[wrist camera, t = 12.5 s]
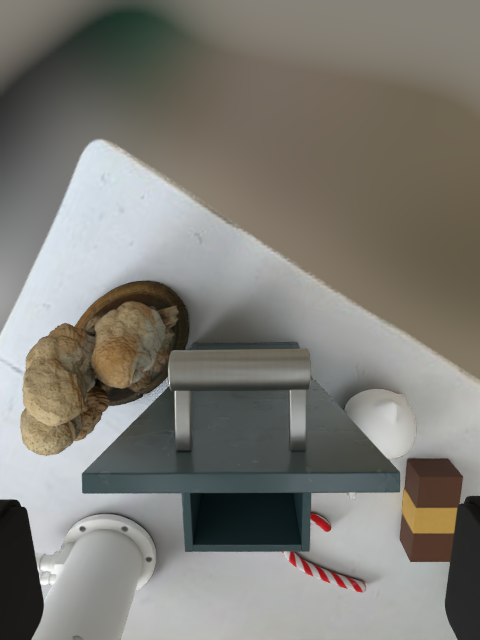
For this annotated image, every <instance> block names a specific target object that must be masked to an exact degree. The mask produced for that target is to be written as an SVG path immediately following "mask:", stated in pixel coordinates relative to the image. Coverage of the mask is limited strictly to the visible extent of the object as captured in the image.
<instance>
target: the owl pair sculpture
mask: <svg viewBox="0 0 480 640" xmlns="http://www.w3.org/2000/svg"><path fill="white" fill-rule="evenodd" d="M188 333H189V323H188V313H187V310H186V307H185V305H184V303H183V301H182V300H181V299H180V297H178V296H177V294H176V293H175V292H174V291H173V290H171V289H170V288H168V287H167V286H165V285H163V284H160V283H159V282H158V283H157V282H152V281H136V282H131V283H128V284H125V285H121V286H119V287H117V288H115V289H113V290H111V291H110V292H108V293H107V294H105V295H104V296H102V297H101V298H99V299H98V300H97V301H96V302H94V303H93V304H92V305H91V306H90V307H89V308H88V309H87V311H86V312H85V313H84V314H83V316H82V317H81V318H80V320H79V321H78V322H77V324H76V325H75V327H73V326H72V325H70V324H67V323H64V324H61V325H60V326H57V328H55V330H53V331H51V332H50V334H49V335H48V336H46V337H43V338H41V339H40V340H39V341H38V343H37V344H36V345H35V346H34V347H33V348H32V349H31V350H30V352H29V353H28V355H27V357H26V371H25V373H24V385H23V390H22V391H23V397H24V398H23V403H24V406H25V408H26V409H25V410H24V411H23V412H22V414H21V421H20V425H21V426H20V428H21V433H22V440H23V443H24V444H25V446H26V447H27V448H28V449H29V450H31V451H33V452H35V453H36V454H39V455H44V456H48V455H52V454H59V453H60V452H61V451H63V450H65V448H67V447H68V446H70V445H71V444H72V443H73V441H79V440H81V439H84V438H85V437H86V435H87V434H89V433H91V432H92V431H93V430H94V427H95V425H96V424H97V423H98V422H99V421H100V420H101V415H102V412H104V411H105V410H106V409H107V408H108V406H114V405H121V404H126V403H129V402H132V401H135V400H137V399H139V398H141V397H143V394H146V393H150V392H151V391H152V390H154V389H155V388H156V387H157V386H159V385H160V384H161V383H162V382H163V381H164V380H165V379H166V378H167V377H168V362H169V356H170V353H171V352H172V351H173V350H184V349H185V346H186V343H187V338H188ZM138 394H140V395H138Z"/></svg>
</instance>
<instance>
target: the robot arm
mask: <svg viewBox="0 0 480 640" xmlns="http://www.w3.org/2000/svg"><path fill="white" fill-rule="evenodd" d="M155 564H156V549H155V545H154V543H153V541H152V539H151V537H150V536H149V534H148V533H147V532H146V531H145V530H144V529H143V528H142V527H141V526H140V525H138V524H137V523H135V522H134V521H132V520H130V519H127V518H125V517H122V516H118V515H113V514H97V515H93V516H89V517H86V518H84V519H82V520H80V521H78V522H77V523H76V524H74V525H73V526H72V527H71V529H70V530H69V531H68V533H67V534H66V536H65V538H64V540H63V542H62V545H61V550H60V551H56V552H55V553H54V554H53V555H46V554H35V551H34V546H33V540H32V535H31V529H30V524H29V519H28V513H27V510H26V508H25V507H21V505H20V503H19V502H18V500H0V640H121V636H122V633H123V630H124V626H125V623H126V620H127V617H128V613H129V610H130V607H131V603H132V600H133V597H134V594H135V591H137V590H139V589H140V588H142V587H143V586H144V585H145V584H146V583H147V582H148V581H149V579H150V578H151V576H152V574H153V571H154V568H155ZM43 570H50V572H42V574H41V575H40V578H39V573H38V571H43ZM51 584H53V585H52V587H51V589H50V591H49V593H48V595H47V596H46V598H45V600H44V601H43V595H42V590H41V585H51ZM445 609H446V614H447V618H448V621H449V623H450V625H451V627H452V629H453V631H454V633H455V635H456V637H457V639H458V640H480V496H469V497H467V498H466V499H465V502H464V504H459V506H458V508H457V514H456V522H455V530H454V537H453V545H452V553H451V560H450V568H449V575H448V583H447V591H446V598H445Z"/></svg>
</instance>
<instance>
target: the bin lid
mask: <svg viewBox="0 0 480 640" xmlns="http://www.w3.org/2000/svg"><path fill="white" fill-rule="evenodd" d="M168 382H169V387H168V388H167V389H166V390H165V391H164V392H163V393H162V394H161V395H160V396H159V397H158V398H157V399H156V400H155V401H154V402H153V403H152V404H151V405H150V406H149V407H148V408H147V409H146V410H145V411H144V412H143V413H142V414H141V415H140V416H139V417H138V418H137V419H136V420H135V421H134V422H133V423H132V424H131V425H130V426H129V427H128V428H127V429H126V430H125V431H124V432H123V433H122V434H121V435H120V436H119V437H118V438H117V439H116V440H115V441H114V442H113V443H112V444H111V445H110V446H109V447H108V448H107V449H106V450H105V451H104V452H103V453H102V454H101V455H100V456H99V457H98V458H97V459H96V460H95V461H94V462H93V463H92V464H91V465H90V466H89V467H88V468H87V469H86V470H85V471H84V472H83V473H82V493H349V492H400V472H399V471H398V470H397V469H396V467H395V466H394V465H393V464H392V463H391V462H390V461H389V460H388V459H387V458H386V457H385V456H384V454H383V453H382V452H381V451H380V450H379V449H378V448H377V447H376V446H375V445H374V444H373V442H372V441H371V440H370V439H369V438H368V437H367V436H366V435H365V434H364V433H363V432H362V430H361V429H360V428H359V427H358V426H357V425H356V424H355V423H354V422H353V421H352V420H351V419H350V417H349V416H348V415H347V414H346V413H345V412H344V411H343V410H342V409H341V408H340V407H339V405H338V404H337V403H336V402H335V401H334V400H333V399H332V398H331V397H330V396H329V395H328V393H327V392H326V391H325V390H324V389H323V388H322V387H321V386H320V385H319V384H318V383H317V382H316V380H311V361H310V355H309V352H308V350H307V349H249V350H173V351H172V352H171V353H170V356H169V362H168Z"/></svg>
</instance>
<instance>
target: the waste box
mask: <svg viewBox="0 0 480 640" xmlns="http://www.w3.org/2000/svg"><path fill="white" fill-rule="evenodd" d="M249 349H300V348H299V345H298V343H297V342H272V343H193V345H192V347H191V349H190V350H249ZM311 380H313V378H312V376H311ZM182 508H183V524H184V540H185V552H193V551H194V552H275V551H309V550H310V517H311V493H182Z"/></svg>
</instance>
